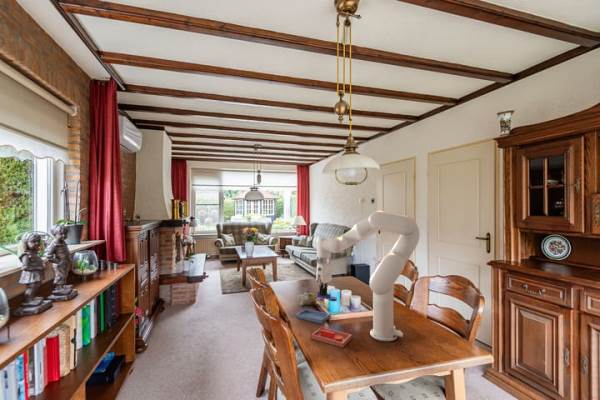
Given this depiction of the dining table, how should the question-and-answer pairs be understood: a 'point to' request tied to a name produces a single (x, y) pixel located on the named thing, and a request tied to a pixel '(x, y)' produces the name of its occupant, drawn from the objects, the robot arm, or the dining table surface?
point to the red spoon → (331, 335)
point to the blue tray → (312, 316)
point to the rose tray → (317, 336)
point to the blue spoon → (327, 296)
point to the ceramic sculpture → (306, 299)
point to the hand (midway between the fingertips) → (323, 294)
